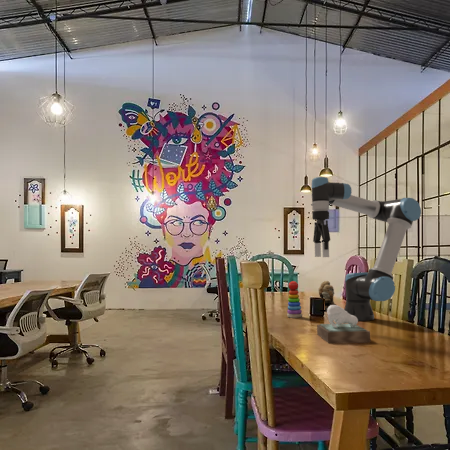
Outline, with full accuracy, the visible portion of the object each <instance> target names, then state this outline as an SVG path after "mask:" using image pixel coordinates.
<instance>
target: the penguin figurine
mask: <svg viewBox="0 0 450 450" xmlns="http://www.w3.org/2000/svg"><path fill="white" fill-rule="evenodd" d="M344 309H345V308H343V307H342V306H340V305H337V304H336V305H330V306H329V307H328V309H327V311H326V313H327V320H328V322H329V323H328V324H331V325H332V327H334V328H337V326H336V324H338V325H339V324H350V326H351V327H355V325H357V324H358V322H359V321H358V319H357V317H356V316H354V315H350V314H349V313H348V312H347V311H345V310H344Z"/></svg>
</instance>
